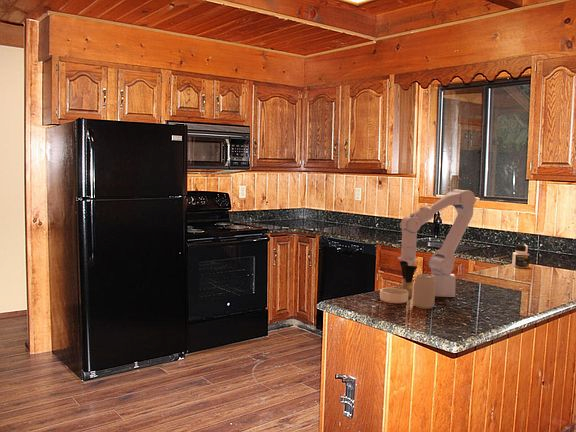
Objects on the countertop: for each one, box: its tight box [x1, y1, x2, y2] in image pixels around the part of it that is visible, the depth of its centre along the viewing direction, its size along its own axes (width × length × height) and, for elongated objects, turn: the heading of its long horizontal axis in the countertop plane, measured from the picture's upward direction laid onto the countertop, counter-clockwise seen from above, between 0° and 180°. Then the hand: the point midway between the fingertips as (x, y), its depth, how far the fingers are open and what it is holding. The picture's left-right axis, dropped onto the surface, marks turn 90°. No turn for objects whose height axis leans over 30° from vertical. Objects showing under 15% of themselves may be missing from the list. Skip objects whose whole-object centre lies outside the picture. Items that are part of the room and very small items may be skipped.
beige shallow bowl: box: [379, 287, 409, 304], centre depth 214 cm, size 10×10×4 cm
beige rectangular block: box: [400, 277, 414, 298], centre depth 221 cm, size 4×2×7 cm, turn 86°
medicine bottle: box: [511, 243, 531, 269], centre depth 295 cm, size 7×7×12 cm
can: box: [413, 273, 436, 310], centre depth 204 cm, size 8×8×12 cm
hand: (407, 280), depth 221 cm, fingers open, 7 cm apart
